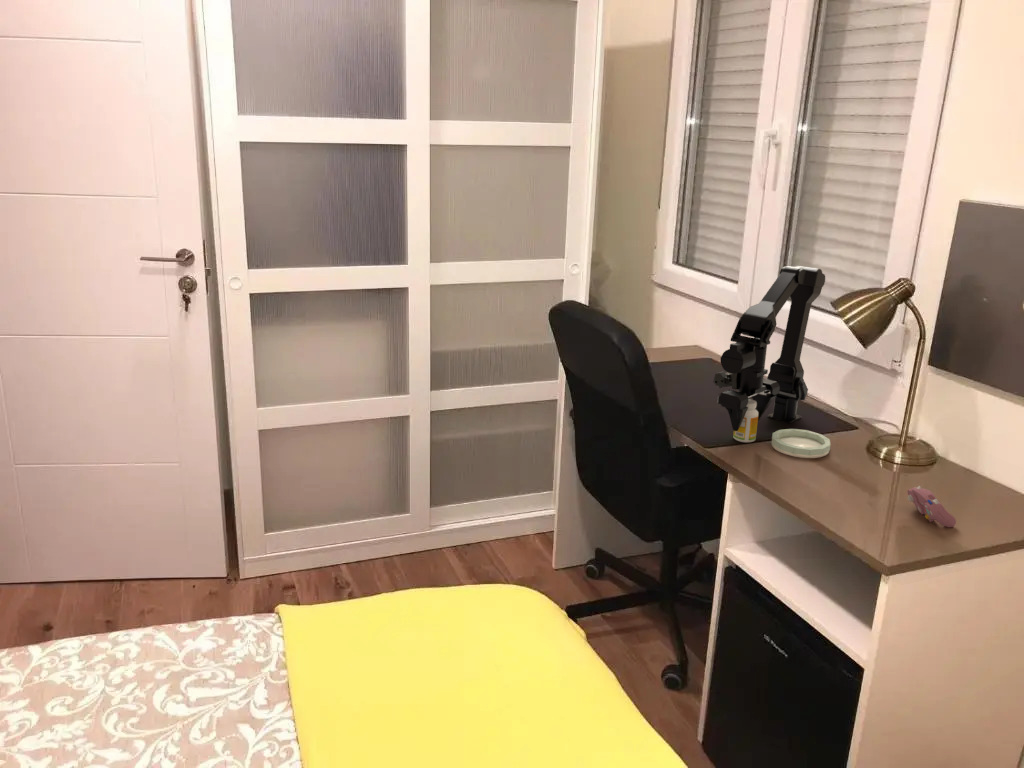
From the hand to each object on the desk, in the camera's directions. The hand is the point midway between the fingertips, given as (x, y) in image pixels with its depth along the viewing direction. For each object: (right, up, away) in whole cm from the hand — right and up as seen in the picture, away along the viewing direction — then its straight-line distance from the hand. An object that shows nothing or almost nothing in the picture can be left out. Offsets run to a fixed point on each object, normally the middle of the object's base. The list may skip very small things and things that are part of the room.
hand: (745, 426), depth 200 cm
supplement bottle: (0, -3, +1) cm, 4 cm away
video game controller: (+25, -16, -38) cm, 48 cm away
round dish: (+12, -5, -4) cm, 13 cm away
